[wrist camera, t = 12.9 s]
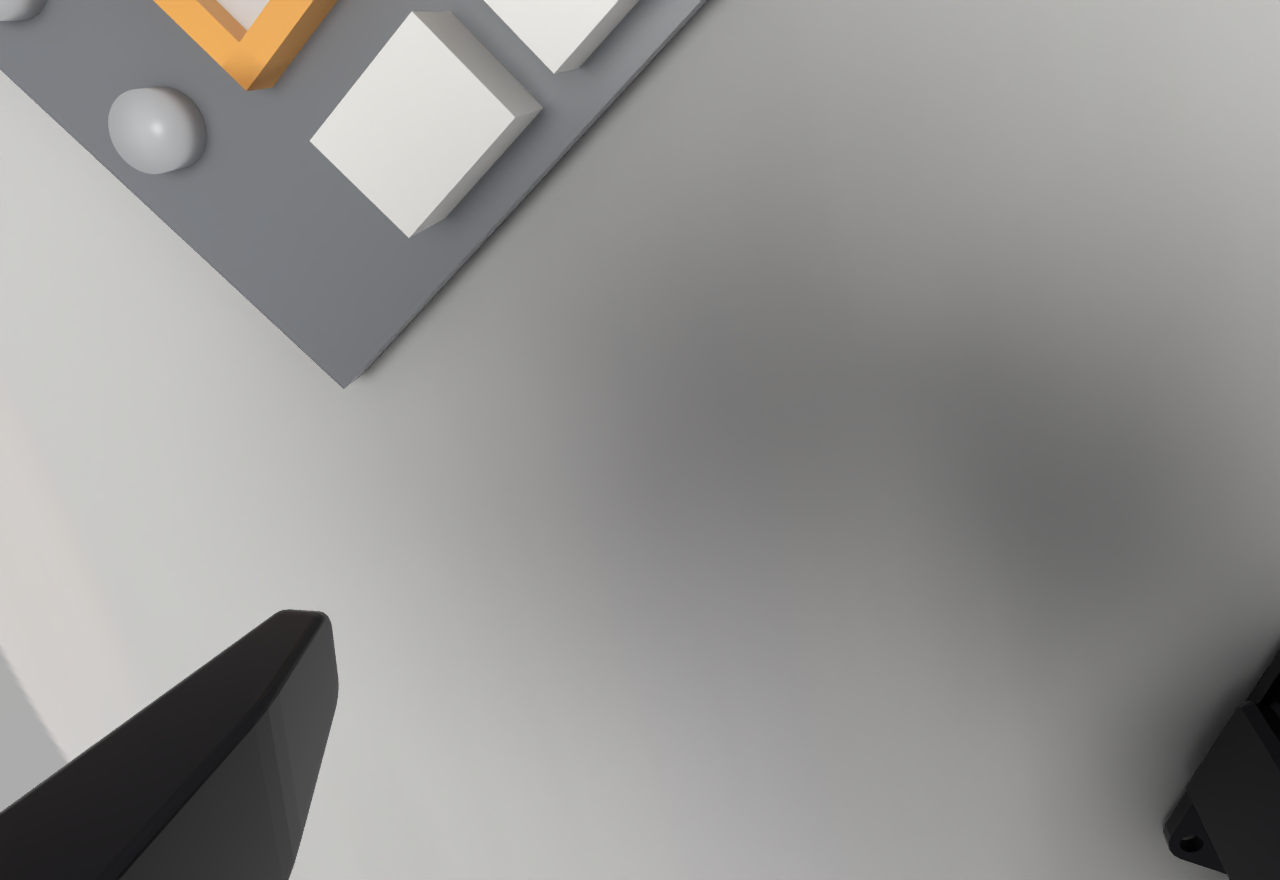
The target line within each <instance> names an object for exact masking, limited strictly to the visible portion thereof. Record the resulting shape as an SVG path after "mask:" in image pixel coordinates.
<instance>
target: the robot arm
mask: <svg viewBox="0 0 1280 880" xmlns="http://www.w3.org/2000/svg"><path fill="white" fill-rule="evenodd" d="M338 684H339V683H338V673H337V664H336V656H335V648H334V640H333V631H332V625H331V622H330V619H329V617H328V616H327V615H326V614H325V613H323V612H320V611H306V610H291V609H288V610H282V611H279V612H277V613H276V614H274V615H272V616H271V617H270V618H268V619H267V620H266V621H264V622H263V623H261V624H260V625H259V626H257V627H256V628H255V629H253V630H252V631H250V632H249V633H248V634H246V635H245V636H243V637H242V638H241V639H239V640H238V641H237V642H235V643H234V644H232V645H231V646H230V647H228V648H227V649H225V650H224V651H223V652H221V653H220V654H219V655H217V656H216V657H214V658H213V659H212V660H210V661H209V662H208V663H206V664H205V665H203V666H202V667H201V668H199V669H198V670H196V671H195V672H194V673H192V674H191V675H190V676H188V677H187V678H185V679H184V680H183V681H181V682H180V683H178V684H177V685H176V686H174V687H173V688H172V689H170V690H169V691H167V692H166V693H165V694H163V695H162V696H161V697H159V698H158V699H156V700H155V701H154V702H152V703H151V704H149V705H148V706H147V707H145V708H144V709H143V710H141V711H140V712H138V713H137V714H136V715H134V716H133V717H131V718H130V719H129V720H127V721H126V722H125V723H123V724H122V725H120V726H119V727H118V728H116V729H115V730H114V731H112V732H111V733H109V734H108V735H107V736H105V737H104V738H102V739H101V740H100V741H98V742H97V743H96V744H94V745H93V746H91V747H90V748H89V749H87V750H86V751H84V752H83V753H82V754H80V755H79V756H78V757H76V758H75V759H73V760H72V761H71V762H69V763H68V764H67V765H65V766H64V767H62V768H61V769H60V770H58V771H57V772H56V773H54V774H53V775H51V776H50V777H49V778H48V779H46V780H44V781H43V782H42V783H40V784H39V785H38V786H36V787H35V788H33V789H32V790H31V791H29V792H28V793H27V794H25V795H24V796H22V797H21V798H20V799H18V800H17V801H15V802H14V803H13V804H11V805H10V806H8V807H7V808H6V809H4V810H3V811H2V812H0V880H289V877H290V874H291V871H292V869H293V866H294V863H295V859H296V856H297V852H298V849H299V845H300V842H301V838H302V835H303V831H304V827H305V823H306V820H307V816H308V812H309V808H310V804H311V801H312V797H313V793H314V789H315V785H316V782H317V778H318V774H319V770H320V766H321V763H322V759H323V755H324V751H325V747H326V744H327V740H328V736H329V732H330V728H331V725H332V721H333V717H334V713H335V709H336V705H337V699H338ZM1163 833H1164V838H1165V840H1166V843H1167V845H1168V847H1169V850H1170V851H1171V852H1172V853H1173V855H1174V856H1176V857H1178V858H1180V859H1183V860H1186V861H1189V862H1192V863H1195V864H1198V865H1201V866H1204V867H1207V868H1210V869H1213V870H1216V871H1219V872H1222V873H1225V874H1227V875H1228V877H1229V879H1230V880H1280V650H1279V651H1278V653H1277V655H1276V656H1275V658H1274V659H1273V661H1272V662H1271V664H1270V665H1269V667H1268V668H1267V670H1266V671H1265V673H1264V674H1263V676H1262V677H1261V679H1260V681H1259V682H1258V684H1257V685H1256V687H1255V688H1254V690H1253V691H1252V693H1251V694H1250V696H1249V697H1248V699H1247V700H1246V702H1245V703H1244V704H1242V705H1241V706H1239V707H1238V708H1237V709H1236V711H1235V712H1234V714H1233V716H1232V717H1231V719H1230V720H1229V722H1228V723H1227V725H1226V726H1225V728H1224V729H1223V731H1222V732H1221V734H1220V735H1219V737H1218V739H1217V740H1216V742H1215V743H1214V745H1213V746H1212V748H1211V749H1210V751H1209V752H1208V754H1207V755H1206V757H1205V759H1204V760H1203V762H1202V763H1201V765H1200V766H1199V768H1198V769H1197V771H1196V772H1195V774H1194V775H1193V777H1192V778H1191V780H1190V782H1189V783H1188V785H1187V792H1186V794H1185V795H1184V797H1183V798H1182V800H1181V801H1180V803H1179V804H1178V806H1177V807H1176V809H1175V811H1174V812H1173V814H1172V815H1171V817H1170V818H1169V820H1168V821H1167V823H1166V824H1165V827H1164V830H1163ZM1189 835H1195V837H1193V838H1192V839H1188V840H1183V838H1184V837H1185V836H1189Z"/></svg>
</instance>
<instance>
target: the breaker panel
mask: <svg viewBox="0 0 1280 880" xmlns="http://www.w3.org/2000/svg"><path fill="white" fill-rule="evenodd" d="M706 2H707V0H0V70H1V71H2V72H4V73H5V74H6V75H7V76H8V77H9V78H10V79H11V80H12V81H13V82H14V83H15V84H16V85H18V86H19V87H20V88H21V89H22V90H23V91H24V92H25V93H26V94H27V95H28V96H29V97H30V98H31V99H33V100H34V101H35V102H36V103H37V104H38V105H39V106H40V107H41V108H42V109H43V110H44V111H45V112H47V113H48V114H49V115H50V116H51V117H52V118H53V119H54V120H55V121H56V122H57V123H58V124H59V125H60V126H62V127H63V128H64V129H65V130H66V131H67V132H68V133H69V134H70V135H71V136H72V137H73V138H74V139H76V140H77V141H78V142H79V143H80V144H81V145H82V146H83V147H84V148H85V149H86V150H87V151H88V152H90V153H91V154H92V155H93V156H94V157H95V158H96V159H97V160H98V161H99V162H100V163H101V164H102V165H103V166H105V167H106V168H107V169H108V170H109V171H110V172H111V173H112V174H113V175H114V176H115V177H116V178H117V179H119V180H120V181H121V182H122V183H123V184H124V185H125V186H126V187H127V188H128V189H129V190H130V191H131V192H133V193H134V194H135V195H136V196H137V197H138V198H139V199H140V200H141V201H142V202H143V203H144V204H145V205H147V206H148V207H149V208H150V209H151V210H152V211H153V212H154V213H155V214H156V215H157V216H158V217H159V218H160V219H162V220H163V221H164V222H165V223H166V224H167V225H168V226H169V227H170V228H171V229H172V230H173V231H174V232H176V233H177V234H178V235H179V236H180V237H181V238H182V239H183V240H184V241H185V242H186V243H187V244H188V245H190V246H191V247H192V248H193V249H194V250H195V251H196V252H197V253H198V254H199V255H200V256H201V257H202V258H203V259H205V260H206V261H207V262H208V263H209V264H210V265H211V266H212V267H213V268H214V269H215V270H216V271H217V272H219V273H220V274H221V275H222V276H223V277H224V278H225V279H226V280H227V281H228V282H229V283H230V284H231V285H232V286H234V287H235V288H236V289H237V290H238V291H239V292H240V293H241V294H242V295H243V296H244V297H245V298H246V299H248V300H249V301H250V302H251V303H252V304H253V305H254V306H255V307H256V308H257V309H258V310H259V311H260V312H262V313H263V314H264V315H265V316H266V317H267V318H268V319H269V320H270V321H271V322H272V323H273V324H274V325H275V326H277V327H278V328H279V329H280V330H281V331H282V332H283V333H284V334H285V335H286V336H287V337H288V338H289V339H291V340H292V341H293V342H294V343H295V344H296V345H297V346H298V347H299V348H300V349H301V350H302V351H303V352H305V353H306V354H307V355H308V356H309V357H310V358H311V359H312V360H313V361H314V362H315V363H316V364H317V365H318V366H320V367H321V368H322V369H323V370H324V371H325V372H326V373H327V374H328V375H329V376H330V377H331V378H332V379H334V380H335V381H336V382H337V383H338V384H339V385H340V386H341V387H342V388H343V389H344V388H346V387H347V386H348V385H349V384H351V383H352V382H353V381H354V380H356V379H357V378H358V377H360V376H361V375H362V374H363V373H364V372H365V371H366V370H367V369H368V368H369V366H370V365H371V364H372V363H373V362H374V361H375V360H376V359H377V358H378V357H379V356H380V355H381V353H382V352H383V351H384V350H385V349H386V348H387V347H388V346H389V345H390V344H391V343H392V342H393V340H394V339H395V338H396V337H397V336H398V335H399V334H400V333H401V332H402V331H403V330H404V329H405V327H406V326H407V325H408V324H409V323H410V322H411V321H412V320H413V319H414V318H415V317H416V316H417V314H418V313H419V312H420V311H421V310H422V309H423V308H424V307H425V306H426V305H427V304H428V303H429V302H430V300H431V299H432V298H433V297H434V296H435V295H436V294H437V293H438V292H439V291H440V290H441V289H442V287H443V286H444V285H445V284H446V283H447V282H448V281H449V280H450V279H451V278H452V277H453V276H454V274H455V273H456V272H457V271H458V270H459V269H460V268H461V267H462V266H463V265H464V264H465V263H466V261H467V260H468V259H469V258H470V257H471V256H472V255H473V254H474V253H475V252H476V251H477V250H478V248H479V247H480V246H481V245H482V244H483V243H484V242H485V241H486V240H487V239H488V238H489V237H490V235H491V234H492V233H493V232H494V231H495V230H496V229H497V228H498V227H499V226H500V225H501V224H502V222H503V221H504V220H505V219H506V218H507V217H508V216H509V215H510V214H511V213H512V212H513V211H514V209H515V208H516V207H517V206H518V205H519V204H520V203H521V202H522V201H523V200H524V199H525V198H526V196H527V195H528V194H529V193H530V192H531V191H532V190H533V189H534V188H535V187H536V186H537V185H538V183H539V182H540V181H541V180H542V179H543V178H544V177H545V176H546V175H547V174H548V173H549V172H550V170H551V169H552V168H553V167H554V166H555V165H556V164H557V163H558V162H559V161H560V160H561V159H562V157H563V156H564V155H565V154H566V153H567V152H568V151H569V150H570V149H571V148H572V147H573V146H574V144H575V143H576V142H577V141H578V140H579V139H580V138H581V137H582V136H583V135H584V134H585V133H586V131H587V130H588V129H589V128H590V127H591V126H592V125H593V124H594V123H595V122H596V121H597V120H598V118H599V117H600V116H601V115H602V114H603V113H604V112H605V111H606V110H607V109H608V108H609V107H610V105H611V104H612V103H613V102H614V101H615V100H616V99H617V98H618V97H619V96H620V95H621V94H622V92H623V91H624V90H625V89H626V88H627V87H628V86H629V85H630V84H631V83H632V82H633V81H634V79H635V78H636V77H637V76H638V75H639V74H640V73H641V72H642V71H643V70H644V69H645V68H646V66H647V65H648V64H649V63H650V62H651V61H652V60H653V59H654V58H655V57H656V56H657V55H658V54H659V52H660V51H661V50H662V49H663V48H664V47H665V46H666V45H667V44H668V43H669V42H670V41H671V39H672V38H673V37H674V36H675V35H676V34H677V33H678V32H679V31H680V30H681V29H682V28H683V26H684V25H685V24H686V23H687V22H688V21H689V20H690V19H691V18H692V17H693V16H694V15H695V13H696V12H697V11H698V10H699V9H700V8H701V7H702V6H703V5H704V4H705V3H706Z"/></svg>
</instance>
